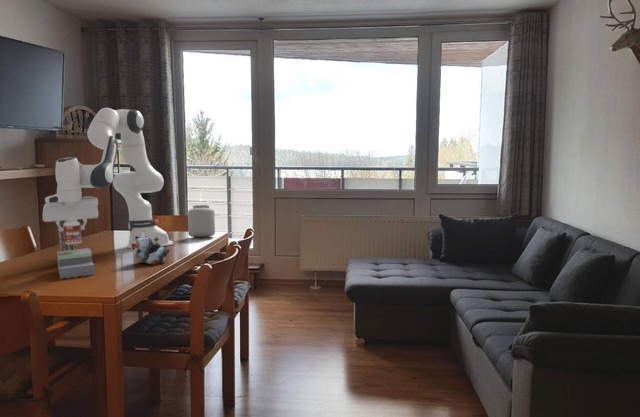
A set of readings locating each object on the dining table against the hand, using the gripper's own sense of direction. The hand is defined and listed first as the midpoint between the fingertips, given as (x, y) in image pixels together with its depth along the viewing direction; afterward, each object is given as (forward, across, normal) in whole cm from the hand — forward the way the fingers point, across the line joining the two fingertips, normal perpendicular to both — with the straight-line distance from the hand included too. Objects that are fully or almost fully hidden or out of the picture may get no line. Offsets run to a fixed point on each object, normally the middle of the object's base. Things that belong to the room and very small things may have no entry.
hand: (72, 230), depth 194 cm
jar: (+17, -68, -48) cm, 85 cm away
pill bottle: (+5, 0, 0) cm, 5 cm away
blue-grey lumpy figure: (+17, -30, +3) cm, 34 cm away
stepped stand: (+17, 0, +4) cm, 17 cm away
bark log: (+17, +1, -19) cm, 25 cm away
